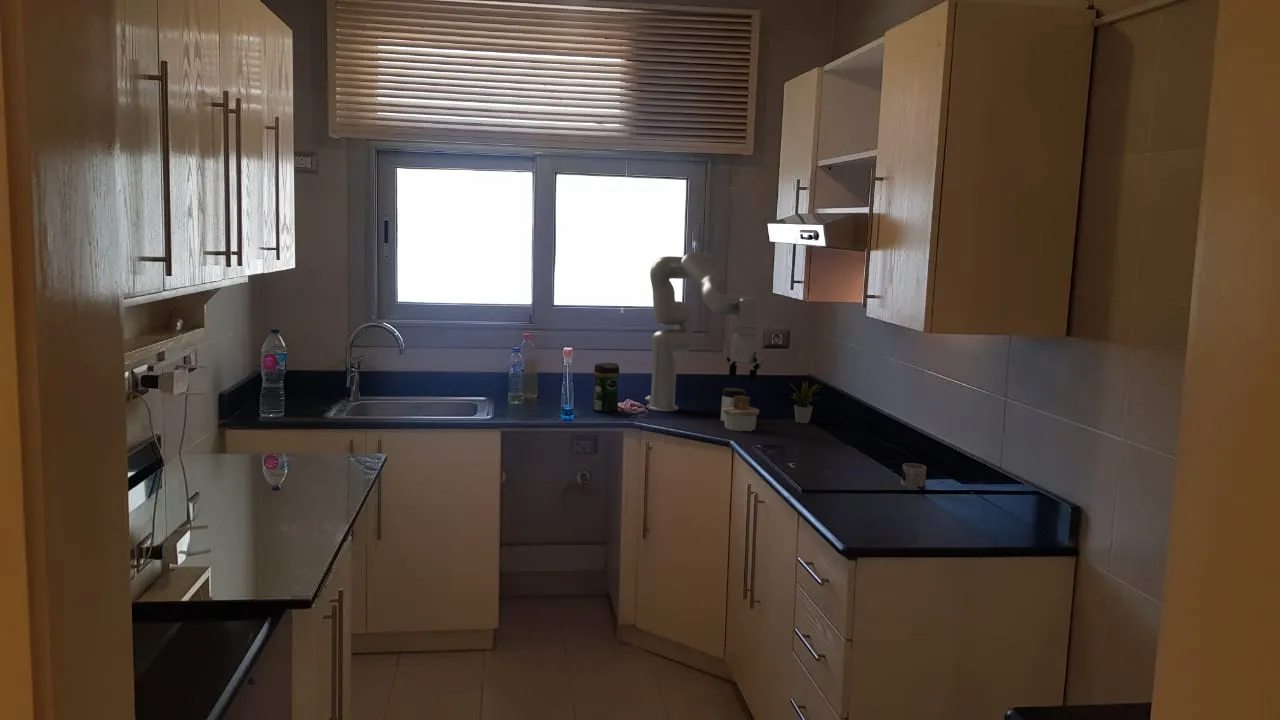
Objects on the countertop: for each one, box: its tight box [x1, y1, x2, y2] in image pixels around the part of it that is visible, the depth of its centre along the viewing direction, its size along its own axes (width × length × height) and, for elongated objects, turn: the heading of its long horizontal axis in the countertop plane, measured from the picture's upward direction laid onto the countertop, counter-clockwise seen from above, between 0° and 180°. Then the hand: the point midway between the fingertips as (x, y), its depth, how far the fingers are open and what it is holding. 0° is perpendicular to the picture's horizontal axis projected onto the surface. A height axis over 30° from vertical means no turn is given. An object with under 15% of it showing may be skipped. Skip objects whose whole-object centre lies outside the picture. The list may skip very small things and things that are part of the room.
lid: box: [723, 395, 760, 416], centre depth 357 cm, size 13×13×6 cm
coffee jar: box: [592, 362, 620, 413], centre depth 377 cm, size 10×8×19 cm
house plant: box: [790, 380, 822, 424], centre depth 376 cm, size 14×14×16 cm
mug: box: [900, 462, 928, 489], centre depth 282 cm, size 10×7×7 cm
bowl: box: [724, 413, 757, 432], centre depth 358 cm, size 11×11×6 cm
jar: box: [720, 387, 746, 422], centre depth 371 cm, size 9×8×12 cm
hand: (742, 378), depth 356 cm, fingers open, 9 cm apart
